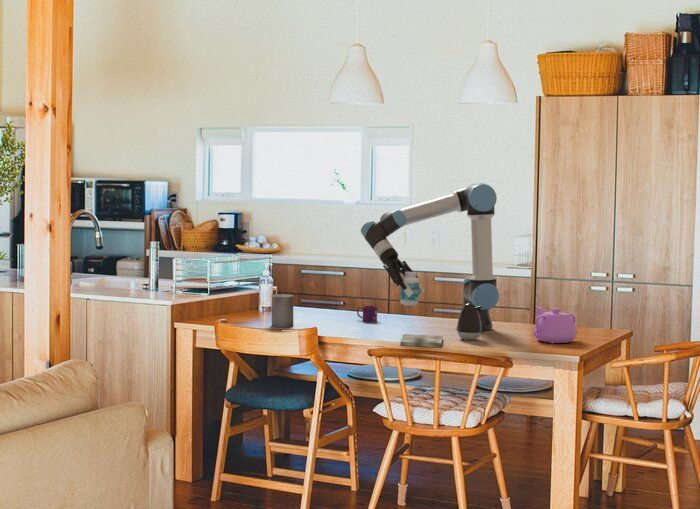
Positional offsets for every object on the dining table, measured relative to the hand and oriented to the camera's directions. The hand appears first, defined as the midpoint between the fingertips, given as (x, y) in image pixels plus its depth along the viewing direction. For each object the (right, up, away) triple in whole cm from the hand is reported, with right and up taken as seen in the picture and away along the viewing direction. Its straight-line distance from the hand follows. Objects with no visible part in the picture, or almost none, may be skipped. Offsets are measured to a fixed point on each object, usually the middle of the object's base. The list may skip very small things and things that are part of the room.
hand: (416, 294), depth 388 cm
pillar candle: (-58, -15, +28) cm, 66 cm away
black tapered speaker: (+22, -19, +1) cm, 29 cm away
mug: (-20, -15, +50) cm, 56 cm away
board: (+1, -19, -9) cm, 21 cm away
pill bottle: (-3, -5, +3) cm, 6 cm away
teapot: (+56, -20, +3) cm, 60 cm away
